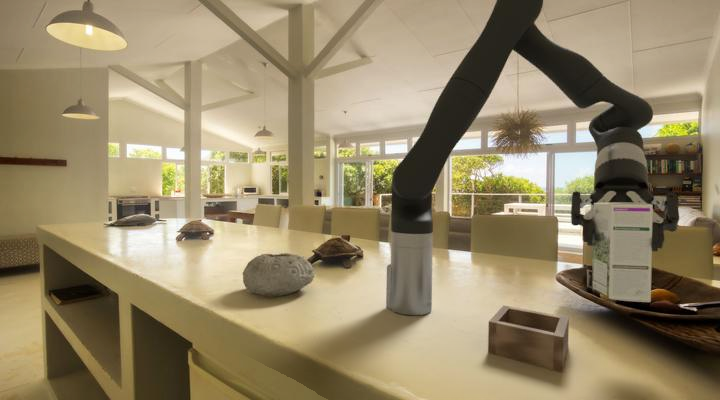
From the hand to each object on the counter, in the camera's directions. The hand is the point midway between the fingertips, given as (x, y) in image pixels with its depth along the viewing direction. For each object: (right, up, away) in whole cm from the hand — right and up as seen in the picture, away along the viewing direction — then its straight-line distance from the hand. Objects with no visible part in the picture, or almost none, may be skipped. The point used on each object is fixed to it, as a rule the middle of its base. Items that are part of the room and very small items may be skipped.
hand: (621, 245), depth 51 cm
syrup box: (+1, -8, +1) cm, 8 cm away
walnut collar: (-11, -18, +5) cm, 22 cm away
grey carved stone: (-60, -17, +36) cm, 72 cm away
